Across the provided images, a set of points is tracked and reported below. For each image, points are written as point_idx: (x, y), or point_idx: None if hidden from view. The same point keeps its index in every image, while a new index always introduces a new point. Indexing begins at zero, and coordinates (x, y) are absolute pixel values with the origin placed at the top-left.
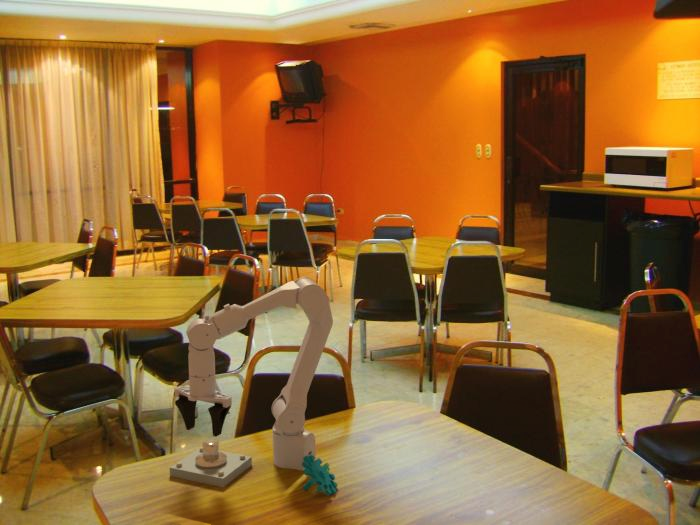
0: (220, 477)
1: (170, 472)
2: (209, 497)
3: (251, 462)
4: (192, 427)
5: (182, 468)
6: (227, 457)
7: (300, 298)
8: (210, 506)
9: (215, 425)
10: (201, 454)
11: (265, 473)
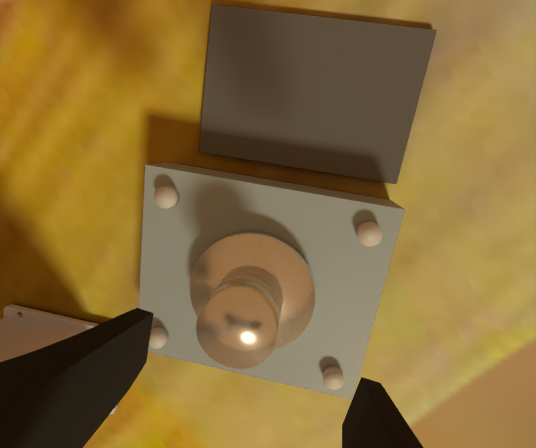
0: (158, 170)
1: (395, 204)
2: (194, 110)
3: None
4: (348, 413)
5: (343, 212)
6: None
7: None
8: (160, 47)
9: (53, 345)
10: (303, 318)
11: (110, 303)
